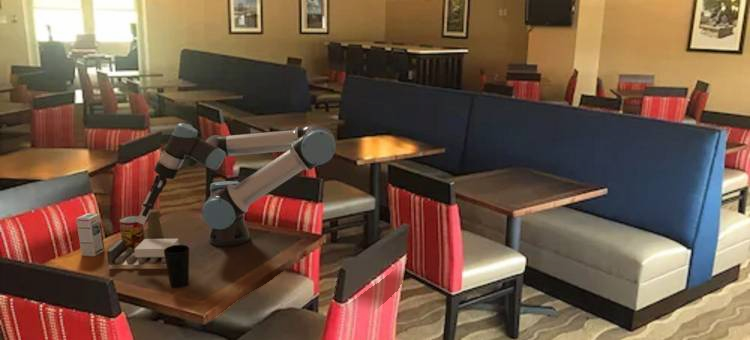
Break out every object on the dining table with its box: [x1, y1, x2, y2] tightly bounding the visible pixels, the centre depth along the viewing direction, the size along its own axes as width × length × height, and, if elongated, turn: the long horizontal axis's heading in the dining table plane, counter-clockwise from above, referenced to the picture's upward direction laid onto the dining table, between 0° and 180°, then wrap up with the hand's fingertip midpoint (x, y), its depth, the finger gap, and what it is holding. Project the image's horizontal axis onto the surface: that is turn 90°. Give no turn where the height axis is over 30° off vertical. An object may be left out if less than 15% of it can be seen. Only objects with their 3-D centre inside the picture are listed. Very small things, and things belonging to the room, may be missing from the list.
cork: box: [146, 209, 164, 239], centre depth 240 cm, size 6×6×11 cm
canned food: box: [119, 215, 146, 252], centre depth 226 cm, size 8×8×12 cm
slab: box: [134, 238, 180, 257], centre depth 215 cm, size 12×10×3 cm
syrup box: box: [75, 212, 105, 257], centre depth 223 cm, size 6×6×14 cm
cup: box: [164, 244, 190, 289], centre depth 196 cm, size 8×8×12 cm
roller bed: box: [106, 238, 167, 270], centre depth 215 cm, size 22×12×6 cm, turn 91°
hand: (142, 215), depth 219 cm, fingers open, 13 cm apart
